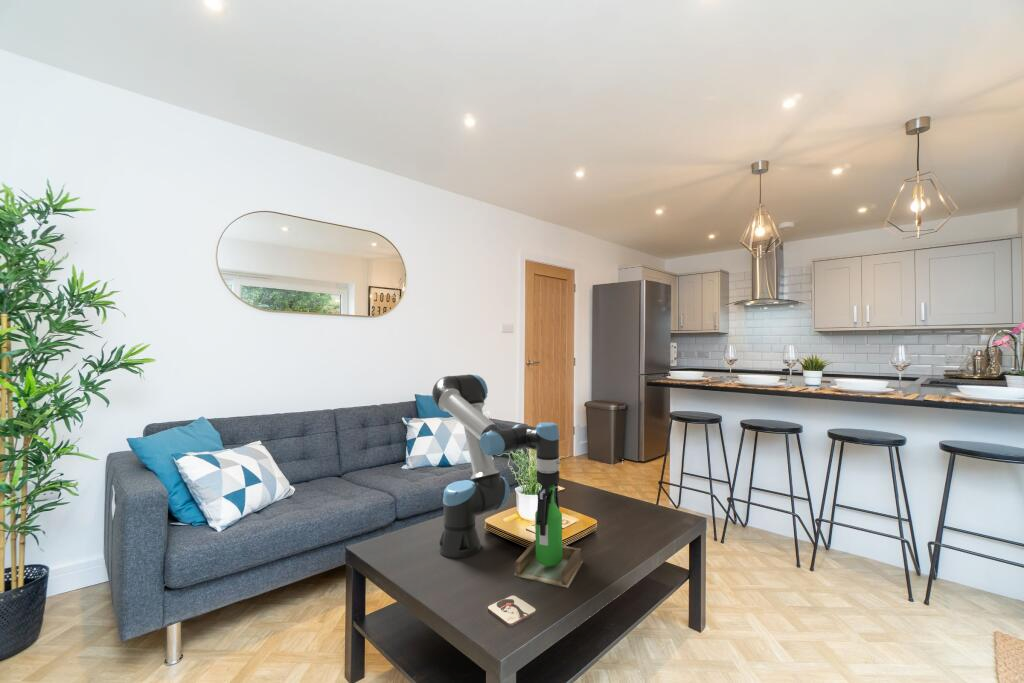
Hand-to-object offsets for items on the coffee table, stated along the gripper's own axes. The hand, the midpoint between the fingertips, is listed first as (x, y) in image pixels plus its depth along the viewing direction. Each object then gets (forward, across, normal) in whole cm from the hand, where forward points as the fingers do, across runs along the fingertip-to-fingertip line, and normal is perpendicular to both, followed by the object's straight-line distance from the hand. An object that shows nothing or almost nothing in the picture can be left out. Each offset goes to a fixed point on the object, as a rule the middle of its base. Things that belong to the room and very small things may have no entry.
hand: (548, 538), depth 146 cm
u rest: (+10, 0, 0) cm, 10 cm away
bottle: (+8, 0, 0) cm, 8 cm away
